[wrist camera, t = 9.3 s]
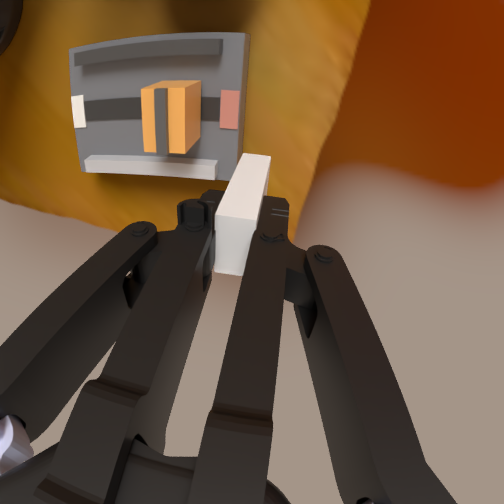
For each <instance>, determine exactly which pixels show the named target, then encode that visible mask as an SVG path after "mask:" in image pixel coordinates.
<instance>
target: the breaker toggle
mask: <svg viewBox="0 0 504 504" xmlns="http://www.w3.org/2000/svg"><path fill="white" fill-rule="evenodd" d="M141 107H142V127H143V142H144V152H156V154H157V155H168V154H169V153H179V154H186V152H187V151H188V150H189V149H190V148H191V147H192V146H193V145H194V143H195V142H196V141H197V140H198V139H199V138H200V118H201V80H170V81H160V82H158V83H155V84H152V85H150V86H147V87H144V88H142V89H141Z"/></svg>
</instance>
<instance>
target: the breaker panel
mask: <svg viewBox="0 0 504 504" xmlns="http://www.w3.org/2000/svg"><path fill="white" fill-rule="evenodd" d="M249 47H250V34H247V33H233V32H195V33H173V34H160V35H149V36H140V37H132V38H124V39H118V40H111V41H105V42H100V43H94V44H89V45H84V46H80V47H75V48H71V49H69V66H70V83H71V96H72V97H71V100H72V111H73V120H74V128H75V133H76V140H77V147H78V153H79V159H80V165H81V171H82V172H94V173H121V174H141V175H157V176H172V177H185V178H197V179H208V180H226V181H230V180H231V178H232V176H233V174H234V172H235V169H236V167H237V165H238V163H239V161H240V159H241V157H242V149H243V133H244V118H245V103H246V88H247V74H248V61H249ZM170 80H201V118H200V138H199V139H198V140H197V141H196V142H195V143H194V145H193V146H192V147H191V148H190V149H189V150H188V151H187V152H186V154H179V153H169V154H168V155H157V154H156V152H144V142H143V127H142V107H141V89H142V88H144V87H147V86H150V85H152V84H155V83H158V82H160V81H170Z"/></svg>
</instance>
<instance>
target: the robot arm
mask: <svg viewBox="0 0 504 504" xmlns="http://www.w3.org/2000/svg"><path fill="white" fill-rule="evenodd" d="M22 3H23V0H0V55H1V54H2V53H3V51H4V50H5V49H6V48H7V46H8V45H9V43H10V42H11V40H12V38H13V36H14V34H15V31H16V29H17V26H18V23H19V20H20V16H21V11H22ZM270 161H271V156H264V155H256V154H247V153H243V155H242V157H241V159H240V161H239V163H238V165H237V167H236V169H235V172H234V174H233V176H232V178H231V180H230V182H229V185H228V187H227V189H226V191H219V190H208V191H207V192H205V193H203V194H202V196H201V198H200V199H189V200H185V201H182V202H180V203H179V204H178V205H177V216H178V225H177V227H176V229H175V230H171V231H160V232H157V228H156V226H155V225H154V224H153V223H151V222H146V221H141V222H140V221H139V222H135V223H132V224H130V225H128V226H127V227H125V228H124V229H123V230H122V231H121V232H119V233H118V234H117V235H116V236H115V237H114V238H112V239H111V240H110V241H109V242H108V243H107V244H105V245H104V246H103V247H102V248H101V249H99V250H98V251H97V252H96V253H95V254H94V255H93V256H92V257H90V258H89V259H88V260H87V261H86V262H85V263H84V264H83V265H81V266H80V267H79V268H78V269H77V270H76V271H75V272H74V273H73V274H72V275H71V276H69V277H68V278H67V279H66V280H65V281H64V282H63V283H62V284H61V285H60V286H59V287H58V288H57V289H56V290H55V291H54V292H53V293H51V295H49V296H48V297H47V298H46V299H45V300H44V301H43V302H42V303H41V304H40V305H39V306H38V307H37V308H36V309H35V310H34V311H33V312H32V313H31V314H30V315H29V316H28V317H27V319H25V321H24V322H23V323H22V324H21V325H20V326H19V327H18V328H17V329H16V330H15V331H14V332H13V333H12V334H11V335H10V336H9V338H8V339H7V340H6V341H5V342H4V343H3V344H2V345H1V346H0V504H291V503H290V502H289V501H288V499H287V498H286V497H285V495H284V494H283V493H282V492H281V491H280V490H279V489H278V488H277V487H276V486H275V485H274V484H273V483H272V482H270V481H269V480H267V473H268V466H269V457H270V450H271V442H272V432H273V421H272V411H273V403H274V394H275V385H276V376H277V367H278V357H279V347H280V336H281V325H282V314H283V303H284V299H285V300H287V301H289V302H292V303H294V311H295V314H296V318H297V322H298V326H299V330H300V334H301V337H302V341H303V345H304V349H305V353H306V357H307V361H308V364H309V369H310V373H311V377H312V381H313V385H314V389H315V393H316V397H317V401H318V406H319V410H320V414H321V418H322V422H323V427H324V431H325V435H326V439H327V443H328V447H329V452H330V457H331V461H332V465H333V470H334V474H335V479H336V482H337V486H338V490H339V493H340V496H341V498H342V501H343V503H344V504H457V503H456V501H455V500H454V499H453V498H452V496H451V495H450V493H449V492H448V491H447V490H446V488H445V487H444V486H443V484H442V483H441V482H440V480H439V479H438V478H437V476H436V475H435V474H434V473H433V471H432V470H431V468H430V467H429V466H428V465H427V463H426V461H425V458H424V455H423V452H422V449H421V446H420V443H419V440H418V437H417V434H416V431H415V428H414V426H413V423H412V420H411V417H410V414H409V412H408V409H407V406H406V403H405V401H404V398H403V395H402V393H401V390H400V388H399V385H398V382H397V380H396V377H395V375H394V372H393V370H392V367H391V365H390V363H389V360H388V358H387V355H386V353H385V350H384V348H383V346H382V343H381V341H380V338H379V336H378V334H377V331H376V329H375V327H374V325H373V322H372V320H371V318H370V316H369V314H368V311H367V309H366V307H365V305H364V302H363V300H362V298H361V296H360V294H359V292H358V290H357V287H356V285H355V283H354V281H353V279H352V277H351V275H350V273H349V271H348V268H347V266H346V264H345V262H344V260H343V258H342V256H341V255H340V254H339V253H338V251H336V250H335V249H333V248H331V247H329V246H324V245H314V246H312V247H310V248H308V250H307V251H305V250H303V249H300V248H298V247H296V246H295V245H293V244H292V243H291V242H290V241H289V239H288V236H287V233H288V218H289V217H288V216H289V203H288V202H287V200H286V199H285V198H279V197H272V196H266V195H267V187H268V178H269V170H270ZM213 265H214V272H219V273H225V274H231V275H238V276H243V277H242V282H241V286H240V290H239V295H238V299H237V303H236V307H235V312H234V316H233V320H232V325H231V329H230V333H229V337H228V342H227V346H226V350H225V355H224V359H223V364H222V368H221V372H220V376H219V381H218V385H217V389H216V394H215V399H214V403H213V406H212V409H211V411H210V412H209V414H208V417H207V421H206V424H205V428H204V433H203V437H202V442H201V446H200V450H199V454H198V457H169V456H164V455H163V452H164V448H165V433H166V427H167V423H168V420H169V416H170V413H171V410H172V406H173V403H174V399H175V396H176V393H177V389H178V386H179V383H180V379H181V376H182V373H183V369H184V366H185V363H186V359H187V356H188V353H189V350H190V347H191V343H192V340H193V337H194V333H195V330H196V327H197V324H198V321H199V318H200V314H201V311H202V309H203V305H204V302H205V299H206V296H207V293H208V290H209V287H210V284H211V281H212V268H213ZM129 271H130V272H131V273H130V274H129V275H128V276H126V274H127V273H128V272H129ZM115 342H116V343H115ZM114 343H115V345H114V347H113V349H112V351H111V353H110V356H109V357H108V360H107V362H106V364H105V366H104V368H103V371H102V373H101V375H100V376H99V378H97V379H95V380H89V381H88V382H87V383H85V385H84V386H83V388H82V390H81V392H80V394H79V396H78V398H77V401H76V403H75V405H74V408H73V410H72V412H71V415H70V417H69V419H68V422H67V424H66V427H65V430H64V432H63V434H62V437H61V439H60V441H59V442H58V443H56V444H54V445H53V446H51V447H49V448H48V449H46V450H44V451H43V452H41V453H39V454H38V455H36V456H34V457H33V454H34V451H33V449H32V447H31V446H30V443H31V442H32V441H34V440H35V439H37V438H38V437H39V436H40V435H41V434H42V433H43V432H44V431H45V430H46V429H47V428H48V427H49V426H50V424H51V423H52V422H53V421H54V420H55V418H56V417H57V416H58V415H59V413H60V412H61V410H62V409H63V408H64V406H65V405H66V404H67V403H68V401H69V400H70V399H71V397H72V396H73V395H74V393H75V392H76V391H77V390H78V388H79V387H80V386H81V384H82V383H83V382H84V380H85V379H86V378H87V377H88V375H89V374H90V373H91V372H92V370H93V369H94V368H95V366H96V365H97V364H98V363H99V361H100V360H101V359H102V358H103V356H104V355H105V354H106V353H107V351H108V350H109V349H110V348H111V346H112V345H113V344H114ZM24 461H25V462H24Z"/></svg>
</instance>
